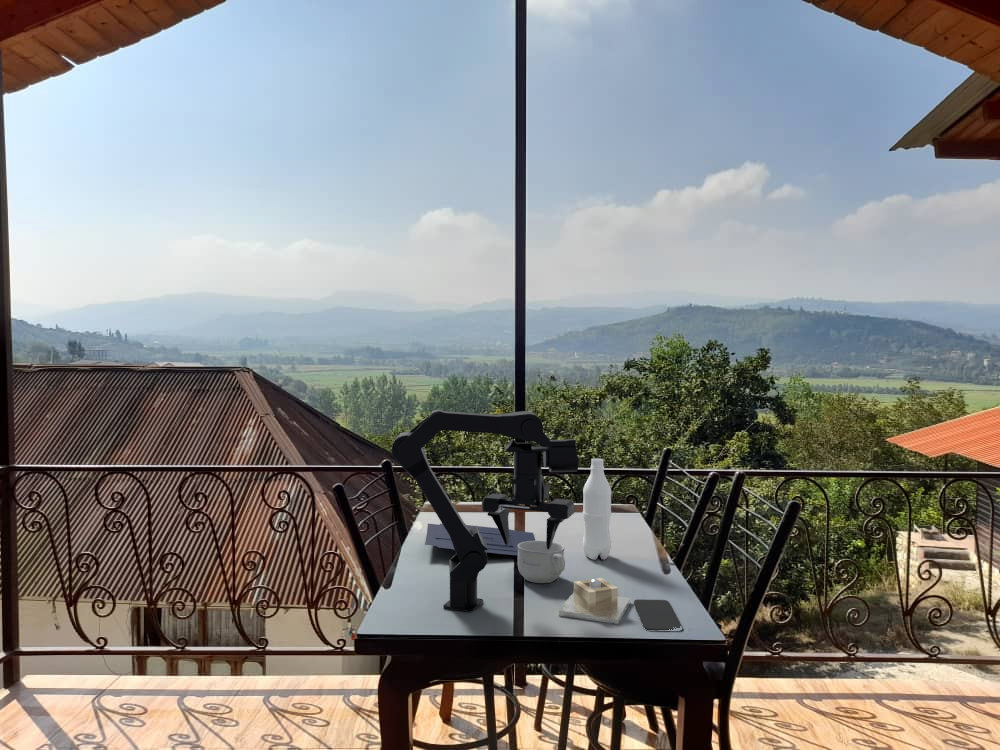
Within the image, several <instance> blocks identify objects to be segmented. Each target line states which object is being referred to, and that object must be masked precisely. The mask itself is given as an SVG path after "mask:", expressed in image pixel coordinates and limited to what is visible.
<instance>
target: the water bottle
mask: <svg viewBox="0 0 1000 750" xmlns="http://www.w3.org/2000/svg"><path fill="white" fill-rule="evenodd" d="M589 468H590V474H589V476H588V478H587V480H586V482H585V484H584V486H583V488H582V490H583V491H582V493H583V494H582V495H583V498H582V499H583V502H582V506H583V509H582V516H583V522H584V532H583V538H582V550H583V553H584V555H585V557H586V558H589V559H590V560H593V561H595V560H597V559H598V556H599V557H600V558H601V560H606V559H608V557H609V556H610V553H611V549H612V540H611V539H612V538H611V533H610V526H611V525H610V522H611V516H612V492H613V491H612V488H611V486H610V483H609V481H608V479H607V477H606V475H605V472H604V471H605V466H604V459H603V458H595V457H594V458H591V465H590V467H589Z"/></svg>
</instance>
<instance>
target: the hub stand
mask: <svg viewBox="0 0 1000 750" xmlns="http://www.w3.org/2000/svg"><path fill="white" fill-rule="evenodd" d="M592 579H593V580H591V581H590V584H589V587H590V588H591V589H596V588H601V582H600V581H599V580H598V579H597V578H592ZM630 604H631V598H630V597H624V596H618V604H617V607H616V608H611V609H605V610H599V611H593V612H589V611H587V610H586V609H584V608H583V607H581V606H580V605H579V604H577V603H576V602H574V591H573V592H572V593H571V595H570V596H569V597H568V599H566V600H565V602H564V603H563V605H562V606H561V607H560V608H559V609H558V616H560V617H566V618H573V619H578V620H579V619H581V620H588V621H593V622H601V623H606V622H607V623H608V624H613V623H614V625H619V623H620V622H621V620H622V618H623V616H624V615H625V613H626V611H627V609H628V608H629V605H630ZM619 621H620V622H619ZM607 623H606V624H607Z"/></svg>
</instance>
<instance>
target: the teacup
mask: <svg viewBox="0 0 1000 750" xmlns="http://www.w3.org/2000/svg"><path fill="white" fill-rule="evenodd" d="M517 547H518V556H517V568H518V571H519V574H520V575H521V576H522V577H523V578H524V579H525V580H526V581H527V582H531V583H534V584H549V583H552V582H554V581H555V580H556V579H557V578H559V577H560V576H561V574H562V573H563V572H564V570H565V568H566V560H565V556H564V555H565V553H564V552H565V549H566V548H565V546H564V545H562V544H561V543H558V542H552V545H551V548H550V549H549V550H548V549H547V544H546V541H545V540H535V541H526V542H522V543H519V544H518V546H517Z"/></svg>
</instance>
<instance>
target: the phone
mask: <svg viewBox="0 0 1000 750" xmlns="http://www.w3.org/2000/svg"><path fill="white" fill-rule="evenodd" d="M633 605H634V608H635V610H636V613H637V615H638V617H640V618H639V621H640V622H641V625H642V624H643V625H642V627H643V629H644V628H645V629H647V630H669V629H670V630H671V629H672V630H673V629H674V628H675V627H676V628H680V626H681V625H682V624H680V623H681V622H680V620H679V618H678V616H677V614H676V613H675V611H674V608H673V607H672V605H671V602H670V601H668V600H667V599H641V598H640V599H639V598H638V599H635V600H634V601H633ZM673 627H674V628H673ZM676 628H675V629H676ZM645 629H644V630H645ZM647 630H646V631H647Z"/></svg>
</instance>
